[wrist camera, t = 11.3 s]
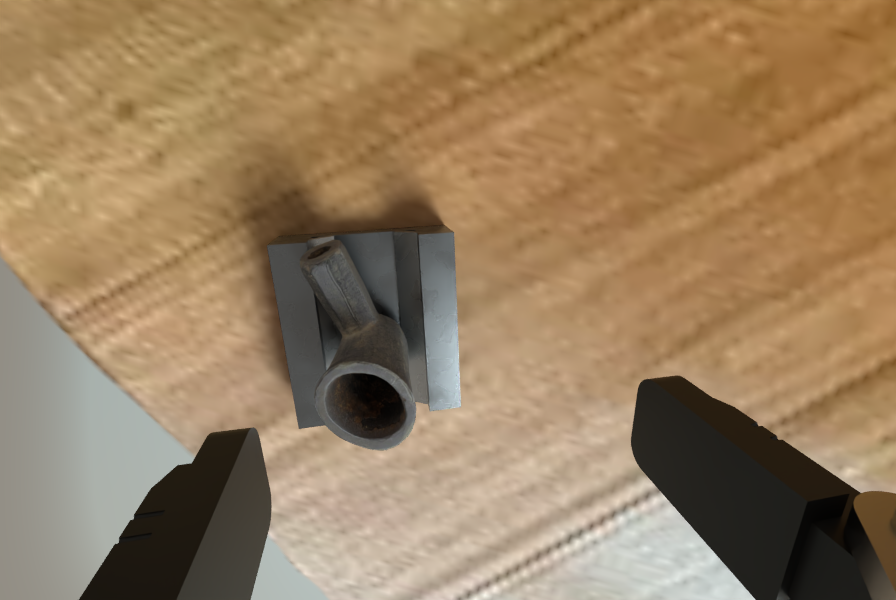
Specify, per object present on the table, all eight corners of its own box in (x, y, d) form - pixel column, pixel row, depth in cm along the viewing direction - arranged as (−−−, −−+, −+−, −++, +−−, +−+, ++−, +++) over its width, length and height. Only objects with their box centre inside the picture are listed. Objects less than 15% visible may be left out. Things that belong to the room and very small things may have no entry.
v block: (279, 236, 32) (266, 245, 28) (444, 225, 33) (453, 232, 30) (306, 401, 36) (298, 428, 32) (451, 383, 38) (460, 406, 34)
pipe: (363, 224, 29) (345, 267, 22) (431, 365, 35) (434, 437, 28) (284, 254, 30) (241, 307, 23) (362, 389, 35) (348, 465, 28)
